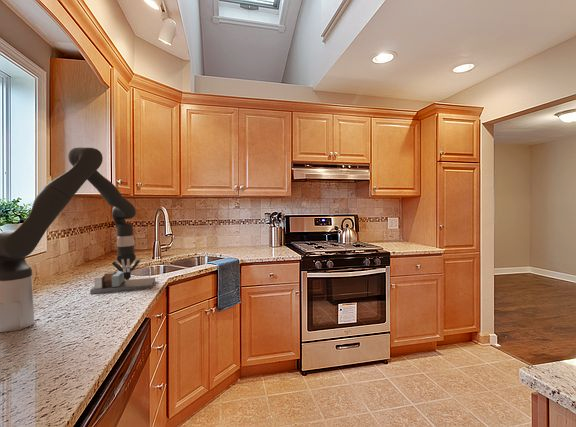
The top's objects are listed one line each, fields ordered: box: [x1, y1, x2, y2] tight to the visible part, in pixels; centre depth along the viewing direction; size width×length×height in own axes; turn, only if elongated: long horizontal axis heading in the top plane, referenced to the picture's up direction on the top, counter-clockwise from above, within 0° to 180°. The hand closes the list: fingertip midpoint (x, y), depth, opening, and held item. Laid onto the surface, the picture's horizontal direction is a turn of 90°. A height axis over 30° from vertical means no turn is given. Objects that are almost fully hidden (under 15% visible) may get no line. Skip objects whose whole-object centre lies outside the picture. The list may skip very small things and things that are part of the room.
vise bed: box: [90, 271, 156, 295], centre depth 151 cm, size 14×26×7 cm, turn 106°
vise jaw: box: [112, 270, 125, 287], centre depth 150 cm, size 12×3×5 cm, turn 16°
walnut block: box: [104, 270, 117, 286], centre depth 149 cm, size 5×4×6 cm
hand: (127, 279), depth 151 cm, fingers closed
